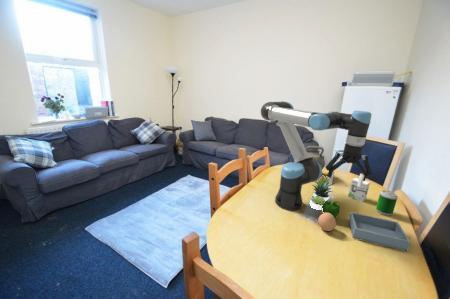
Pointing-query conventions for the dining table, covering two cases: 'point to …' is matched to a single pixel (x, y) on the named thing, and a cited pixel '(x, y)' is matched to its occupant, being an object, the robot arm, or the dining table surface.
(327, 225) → the egg
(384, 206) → the soda can
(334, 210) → the bell pepper
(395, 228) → the tray
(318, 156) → the pot
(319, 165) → the robot arm
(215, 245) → the dining table surface
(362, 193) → the ink box
